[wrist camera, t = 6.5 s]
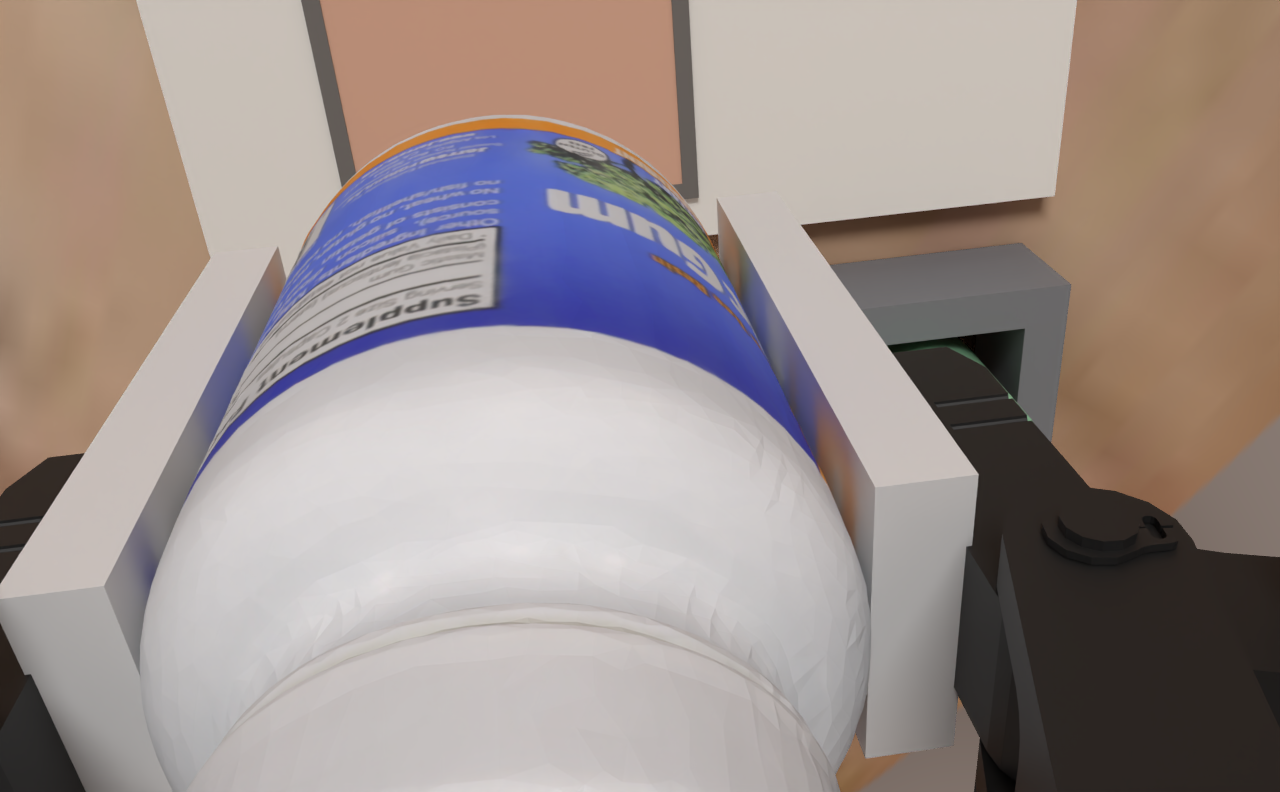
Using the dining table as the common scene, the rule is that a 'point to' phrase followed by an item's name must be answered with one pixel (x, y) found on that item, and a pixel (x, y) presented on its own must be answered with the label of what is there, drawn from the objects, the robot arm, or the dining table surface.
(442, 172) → the pill bottle
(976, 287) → the button housing
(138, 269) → the dining table surface
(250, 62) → the sheet
